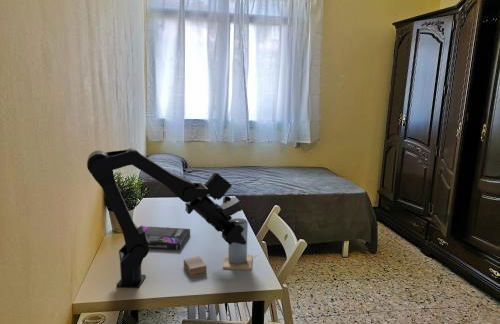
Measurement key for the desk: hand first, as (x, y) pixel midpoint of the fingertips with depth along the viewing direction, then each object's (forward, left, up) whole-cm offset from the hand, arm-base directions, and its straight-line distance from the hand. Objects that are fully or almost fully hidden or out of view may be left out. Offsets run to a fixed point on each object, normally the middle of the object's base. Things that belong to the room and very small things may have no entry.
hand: (241, 239), depth 115 cm
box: (+15, +31, -8) cm, 35 cm away
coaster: (0, +1, -8) cm, 8 cm away
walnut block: (-6, +14, -8) cm, 17 cm away
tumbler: (-1, +1, -7) cm, 7 cm away
